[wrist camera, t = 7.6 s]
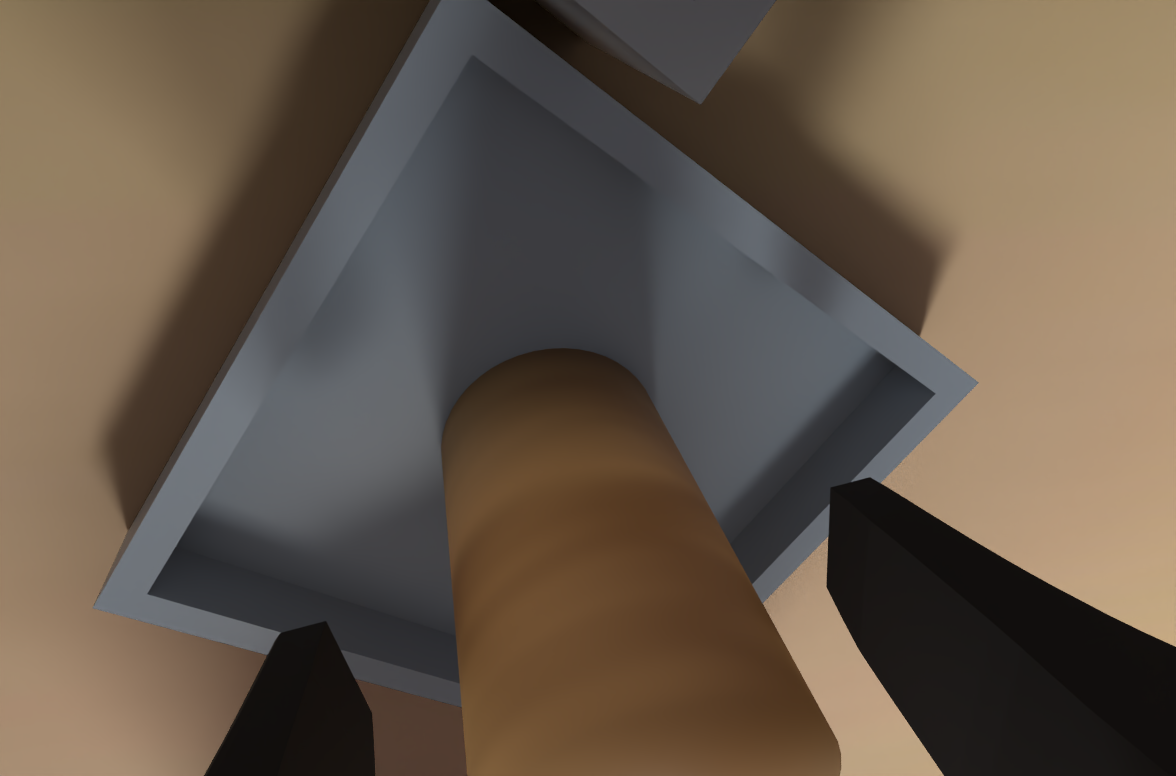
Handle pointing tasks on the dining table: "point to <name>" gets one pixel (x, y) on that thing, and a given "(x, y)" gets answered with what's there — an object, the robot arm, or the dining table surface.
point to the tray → (505, 357)
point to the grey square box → (666, 35)
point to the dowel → (605, 592)
